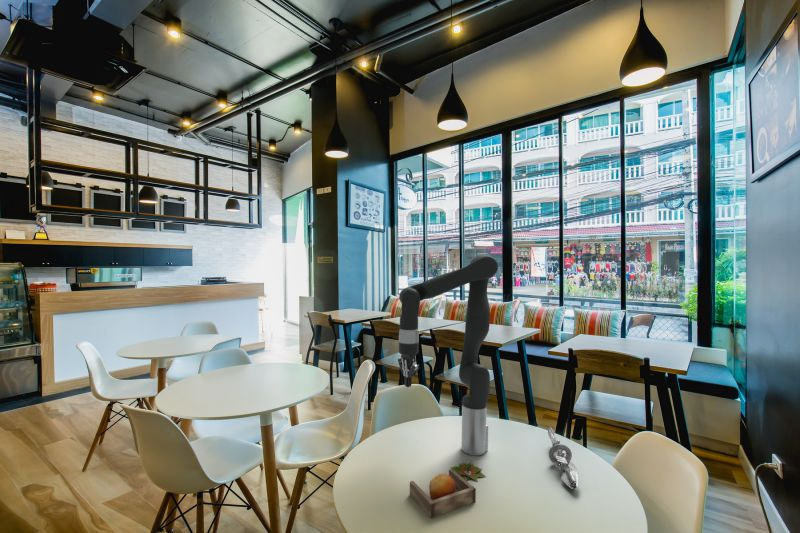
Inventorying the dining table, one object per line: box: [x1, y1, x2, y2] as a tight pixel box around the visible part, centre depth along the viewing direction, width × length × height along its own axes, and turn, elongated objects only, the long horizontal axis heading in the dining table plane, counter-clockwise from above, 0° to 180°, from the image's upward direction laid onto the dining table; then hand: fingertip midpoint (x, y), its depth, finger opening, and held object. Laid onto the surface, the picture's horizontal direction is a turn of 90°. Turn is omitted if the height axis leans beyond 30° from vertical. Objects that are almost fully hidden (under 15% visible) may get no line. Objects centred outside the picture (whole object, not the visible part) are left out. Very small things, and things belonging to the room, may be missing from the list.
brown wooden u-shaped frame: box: [409, 468, 477, 519], centre depth 113 cm, size 16×12×4 cm
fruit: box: [429, 473, 456, 500], centre depth 112 cm, size 8×8×8 cm
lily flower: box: [450, 460, 487, 482], centre depth 127 cm, size 12×12×5 cm
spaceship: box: [547, 427, 579, 490], centre depth 133 cm, size 8×35×8 cm
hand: (407, 386), depth 140 cm, fingers closed
